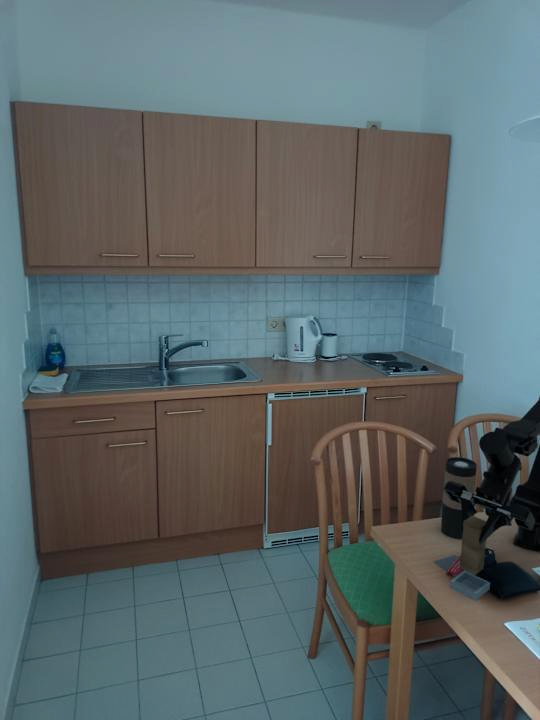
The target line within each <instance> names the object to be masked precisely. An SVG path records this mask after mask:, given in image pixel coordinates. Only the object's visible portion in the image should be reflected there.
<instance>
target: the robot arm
mask: <svg viewBox="0 0 540 720" xmlns="http://www.w3.org/2000/svg"><path fill="white" fill-rule="evenodd" d="M539 434H540V396H539V397H538V400H537V401H536V402H535V404H533V406H532V407H531V408H530V409H529V410H528V411H527V412H526V413H525V414H524V415H523V417H522V418H521V419H519V420H514V421H510V422H509V423H507V424H506V425H505V426H503V428H500V427H495V429H494V431H488V432H487V433H485V434H483V435H482V436H481V437H480V439H479V443H478V445H479V448H480V450H481V452H482V453H483V456H484V457H485V460H486V461H487V462H488V463H489V467H488V468H487V471H486V470H484V471H483V473H482V476H483V479H482V481H481V483H480V486H476V487H475V493H476V494H475V493H474V494H473V493H470V492H468V490H467V489H466V487H465V486H464V485H462V484H459V483H456V482H454V481H449V482H447V483H446V484H445V486H444V485H443V488H442V490H444V492H445V493H446V494H447V496H448V497H449V499H450V500H452V501H454V502H457V503H459V504H461V508H462V528H461V534H462V535H463V522H464V521H465V520H466V519H468V518H469V517H471V516H474V517H475V515H476V514H477V513H478V511H477V509H476V508H475V507H476V506H477V505H478V506H479V507H482V508H484V513H485V515H486V516H487V517H488V518H487V519H486V520H485V521H486V524H485V526H484V528H483V530H482V533H481V535H480V539H479V542H480V543H483V542H484V541H485V540H486V541H487V540H488V538H490V537H491V535H493V533H495V532H496V531H497V530H499V529H500V528H502V527H505V526H508V527H511V526H512V525H513V524H512V522H513V520H514V521H515V524H516V526H517V532H516V533H515V538H514V540H513V545H516V546H519V547H523V548H526V549H530V550H533V551H537V552H540V444H539V443H538V440H539V439H538V436H539ZM536 449H537V450H536ZM536 451H537V452H536ZM535 452H536V455H535V458H534V461H533V464H532V466H531V470H530V472H529V474H528V478H527V481H526V482H524V483H522V484H518V485H517V486H516V490H515V493H514V495H513V496H512V497H511V495H512V492H513V488H512V487H513V484H514V482H515V480H516V477H517V475H518V474H519V471H522V470H523V465H522V462H521V459H520V458H519V456H517V455H520V456H524V457H529V456H531V455H532V454H533V453H535ZM516 454H517V455H516Z"/></svg>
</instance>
